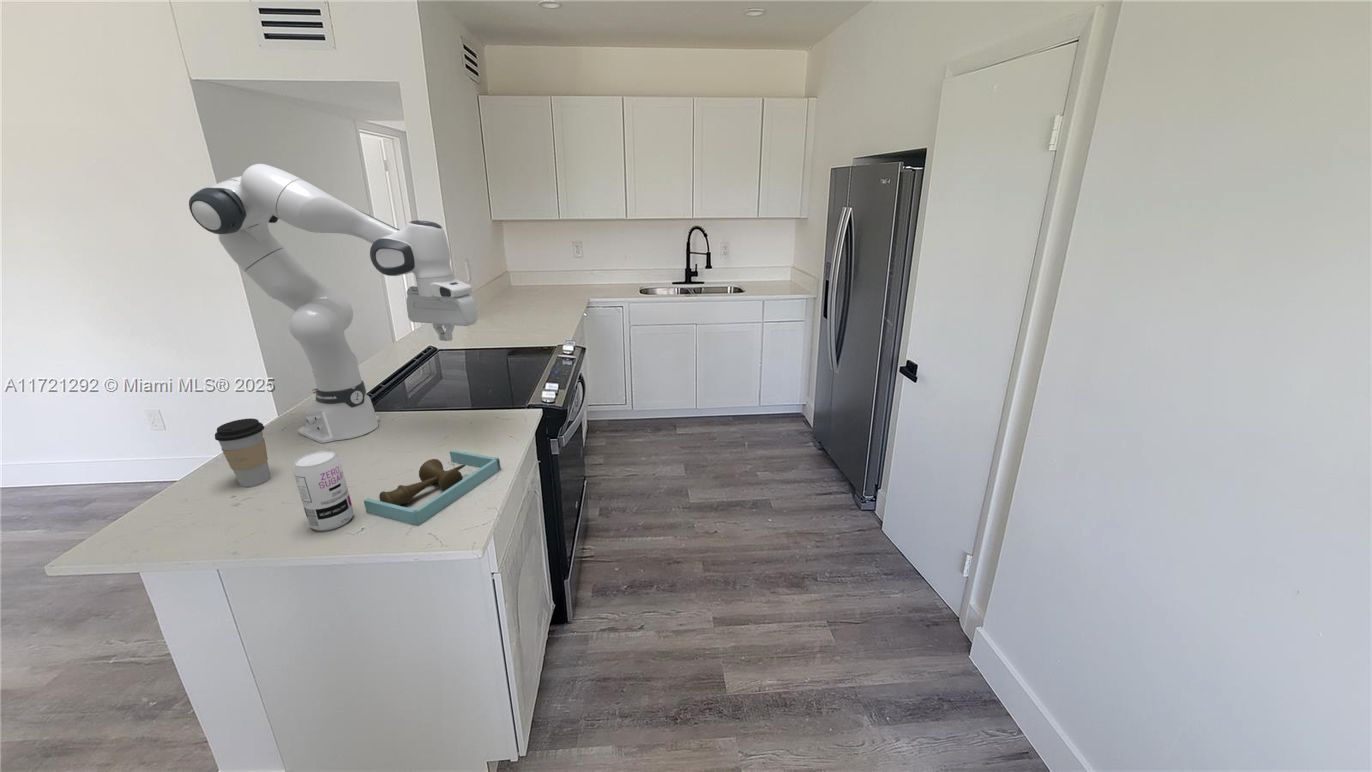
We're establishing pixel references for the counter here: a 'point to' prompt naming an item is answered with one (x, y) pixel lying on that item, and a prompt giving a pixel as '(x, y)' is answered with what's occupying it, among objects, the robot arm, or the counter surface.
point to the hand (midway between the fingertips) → (446, 340)
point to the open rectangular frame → (444, 499)
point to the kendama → (424, 482)
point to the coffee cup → (245, 450)
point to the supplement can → (323, 490)
